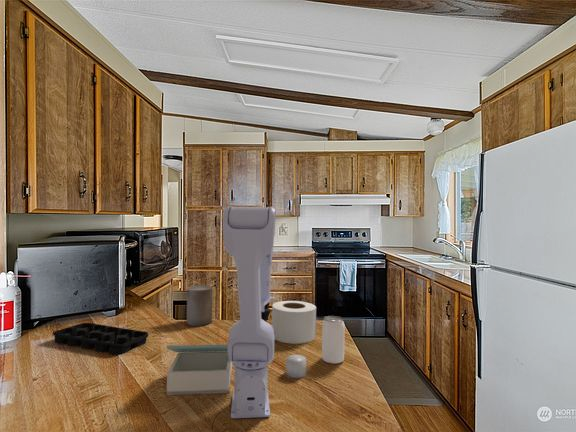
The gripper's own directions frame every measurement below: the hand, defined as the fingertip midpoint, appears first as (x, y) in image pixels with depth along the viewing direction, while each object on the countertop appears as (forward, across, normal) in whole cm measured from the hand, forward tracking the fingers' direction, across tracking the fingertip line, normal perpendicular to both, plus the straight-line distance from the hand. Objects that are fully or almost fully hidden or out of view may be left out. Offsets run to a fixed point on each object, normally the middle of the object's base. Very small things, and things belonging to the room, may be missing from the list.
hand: (258, 331), depth 89 cm
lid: (+3, -5, +14) cm, 15 cm away
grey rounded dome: (+10, -2, -10) cm, 15 cm away
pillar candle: (+11, +44, +22) cm, 50 cm away
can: (+11, +6, -22) cm, 25 cm away
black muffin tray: (+11, +24, +50) cm, 57 cm away
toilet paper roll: (+11, +27, -13) cm, 32 cm away
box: (+10, -5, +14) cm, 18 cm away
